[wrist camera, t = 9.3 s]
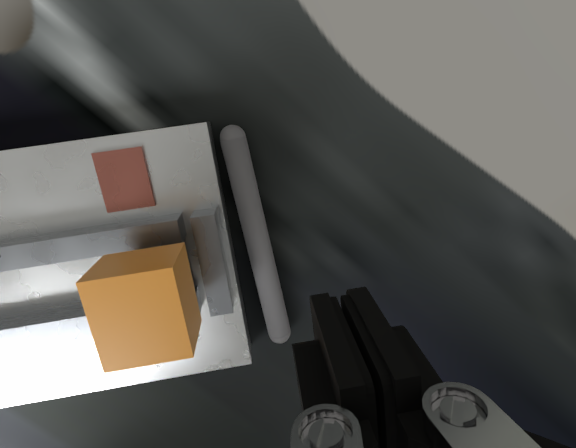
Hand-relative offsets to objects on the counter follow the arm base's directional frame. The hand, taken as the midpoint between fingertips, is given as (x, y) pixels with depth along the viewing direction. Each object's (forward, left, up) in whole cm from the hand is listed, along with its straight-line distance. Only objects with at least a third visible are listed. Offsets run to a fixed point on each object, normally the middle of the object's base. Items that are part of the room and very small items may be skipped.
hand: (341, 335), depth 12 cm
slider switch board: (-1, +14, -12) cm, 19 cm away
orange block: (-1, +7, -10) cm, 12 cm away
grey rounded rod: (-1, +2, -12) cm, 12 cm away
